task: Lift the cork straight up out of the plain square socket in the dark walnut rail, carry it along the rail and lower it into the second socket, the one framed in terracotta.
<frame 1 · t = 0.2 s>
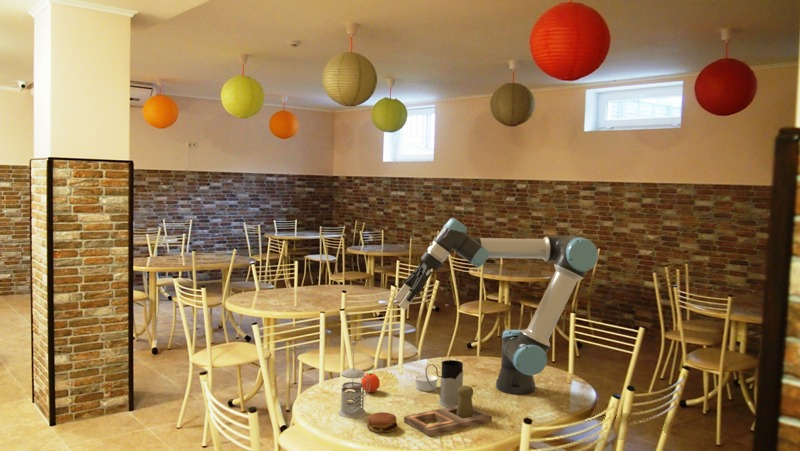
hand: (399, 303, 233), 35 cm above the table, tool tilted 35°, fingers open, 13 cm apart
burger: (382, 429, 208), on the table
ramekin: (425, 388, 250), on the table
french press: (354, 412, 222), on the table
tomato: (369, 391, 245), on the table
socket rail: (448, 422, 215), on the table
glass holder: (443, 403, 234), on the table
cork: (464, 419, 219), resting in socket rail
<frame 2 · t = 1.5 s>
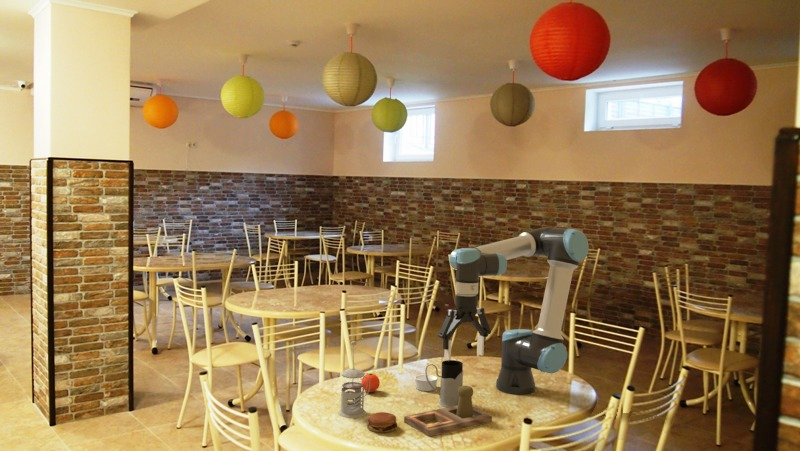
hand: (464, 356, 218), 21 cm above the table, tool pointing down, fingers open, 13 cm apart
nothing on the table moved.
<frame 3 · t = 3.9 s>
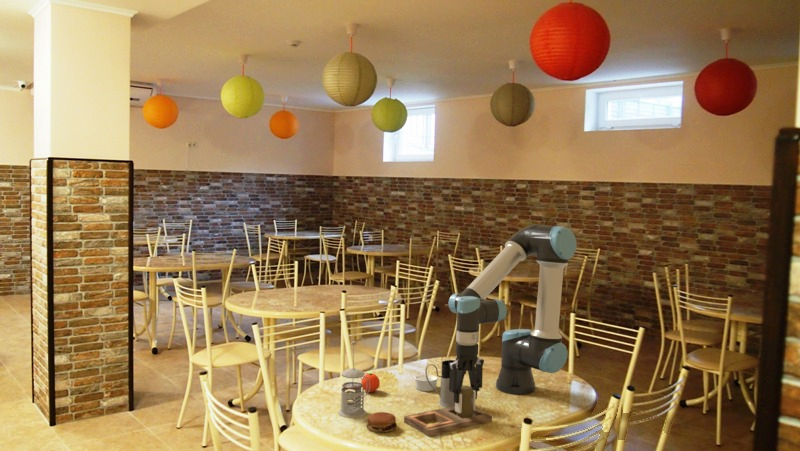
hand: (465, 410, 219), 3 cm above the table, tool pointing down, fingers closed on cork, 5 cm apart
cork: (464, 418, 219), resting in socket rail, touching gripper
everything else where it was.
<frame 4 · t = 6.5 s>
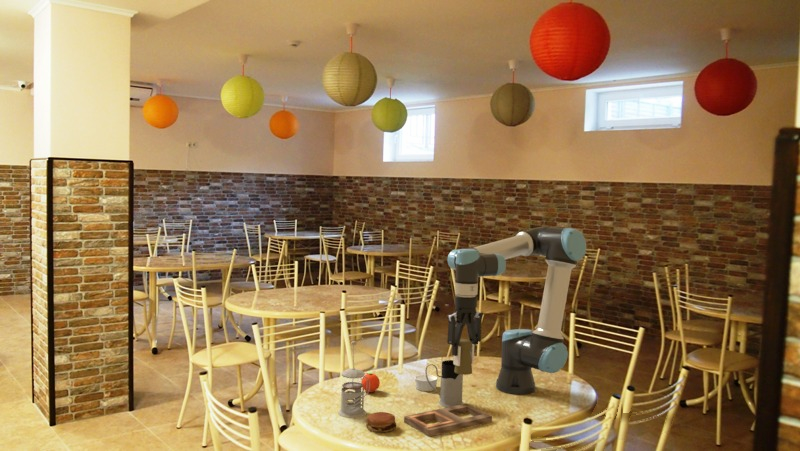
hand: (463, 363, 217), 19 cm above the table, tool pointing down, fingers closed on cork, 5 cm apart
cork: (463, 372, 217), point 16 cm above the table, touching gripper
everything else where it was.
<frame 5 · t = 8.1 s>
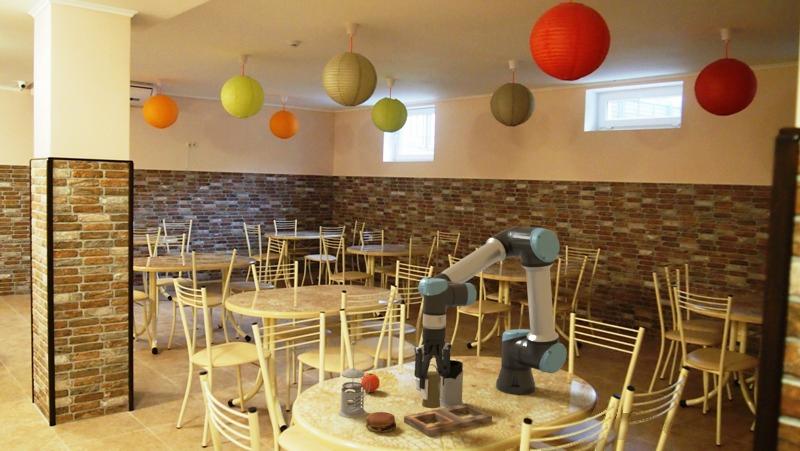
hand: (431, 396, 211), 10 cm above the table, tool pointing down, fingers closed on cork, 5 cm apart
cork: (431, 405, 211), point 7 cm above the table, touching gripper
everything else where it was.
when the fingers open (4 cm above the table, at t = 9.4 s): cork stays where it is, resting in socket rail.
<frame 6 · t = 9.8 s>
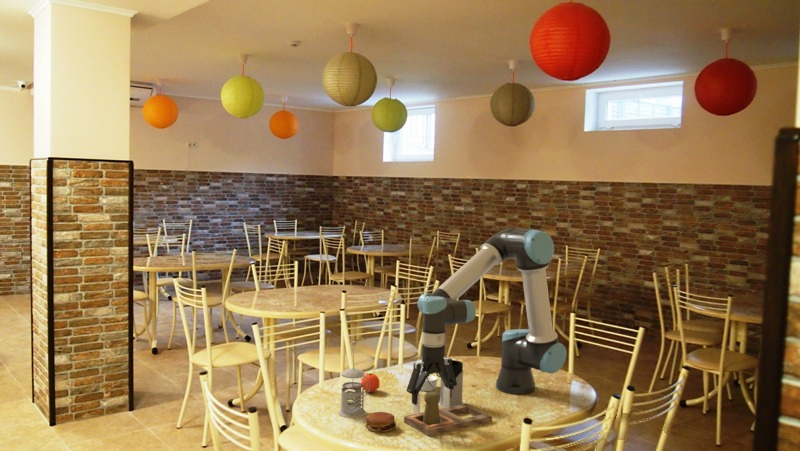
hand: (431, 410, 211), 5 cm above the table, tool pointing down, fingers open, 11 cm apart
cork: (431, 426, 211), resting in socket rail
everything else where it was.
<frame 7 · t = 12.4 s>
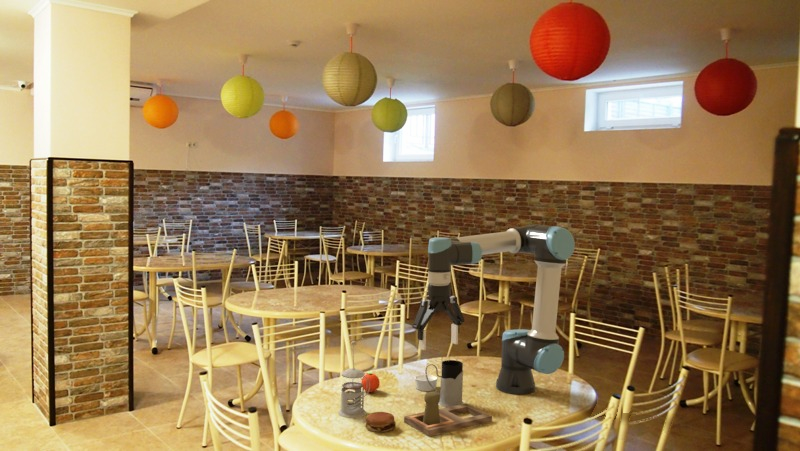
hand: (438, 346, 218), 24 cm above the table, tool pointing down, fingers open, 13 cm apart
nothing on the table moved.
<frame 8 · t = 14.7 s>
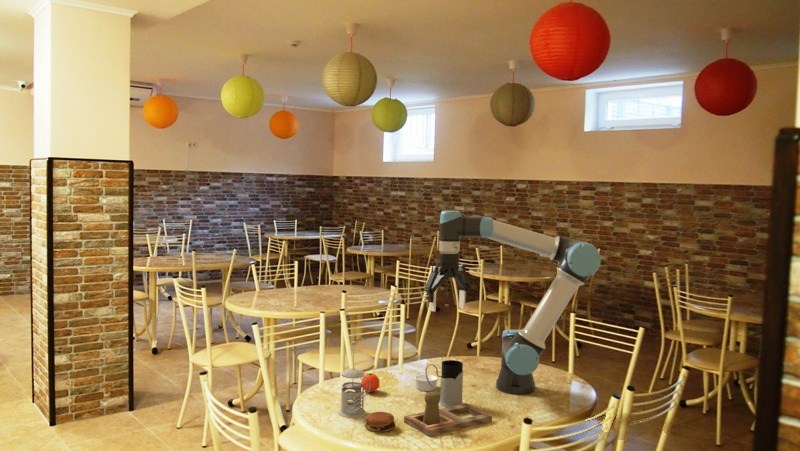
hand: (447, 309, 240), 33 cm above the table, tool pointing down, fingers open, 13 cm apart
nothing on the table moved.
at the end: cork 0.1 cm from the target spot on the socket rail, point 0.0 cm above the socket rail's base; cork tilted 0°; the gripper is holding nothing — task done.
